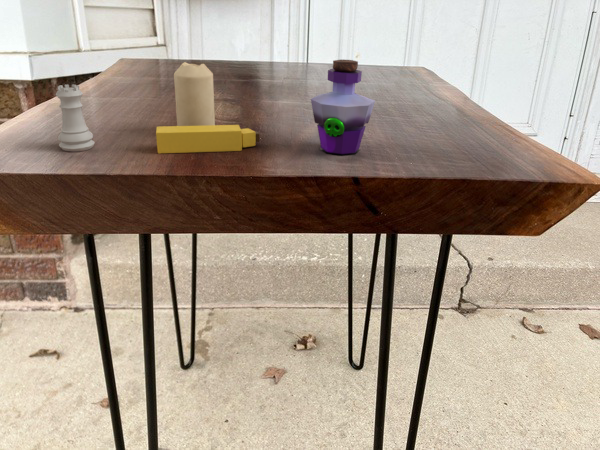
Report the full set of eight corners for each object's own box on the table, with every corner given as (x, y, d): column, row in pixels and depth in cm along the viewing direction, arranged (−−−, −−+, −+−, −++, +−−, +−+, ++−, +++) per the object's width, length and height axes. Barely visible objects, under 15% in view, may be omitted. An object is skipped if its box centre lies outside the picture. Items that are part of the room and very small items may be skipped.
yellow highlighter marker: (157, 153, 69) (156, 132, 68) (158, 145, 72) (156, 125, 71) (261, 150, 72) (261, 130, 70) (257, 143, 75) (257, 123, 74)
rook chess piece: (59, 143, 71) (50, 83, 68) (95, 141, 73) (87, 82, 69) (58, 153, 68) (47, 90, 64) (95, 150, 69) (87, 89, 66)
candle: (219, 129, 81) (217, 61, 77) (208, 138, 76) (205, 66, 72) (185, 126, 82) (181, 59, 78) (171, 135, 77) (166, 64, 73)
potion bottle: (309, 158, 69) (313, 63, 64) (307, 140, 77) (310, 54, 72) (375, 160, 69) (384, 65, 64) (366, 141, 77) (373, 56, 72)
